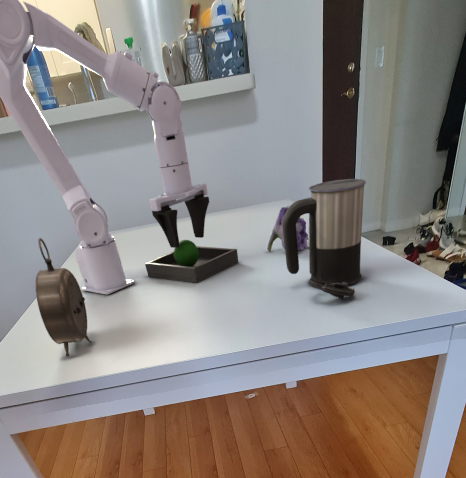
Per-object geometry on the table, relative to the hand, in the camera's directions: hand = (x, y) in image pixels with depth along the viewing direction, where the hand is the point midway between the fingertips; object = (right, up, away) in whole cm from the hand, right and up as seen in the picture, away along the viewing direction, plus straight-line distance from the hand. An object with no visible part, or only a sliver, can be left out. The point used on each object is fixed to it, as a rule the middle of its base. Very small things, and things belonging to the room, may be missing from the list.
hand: (187, 242), depth 98 cm
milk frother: (+28, -18, -17) cm, 38 cm away
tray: (+1, -4, +4) cm, 6 cm away
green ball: (0, -2, +1) cm, 2 cm away
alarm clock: (-16, -30, -21) cm, 40 cm away
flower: (+22, 0, +5) cm, 23 cm away
